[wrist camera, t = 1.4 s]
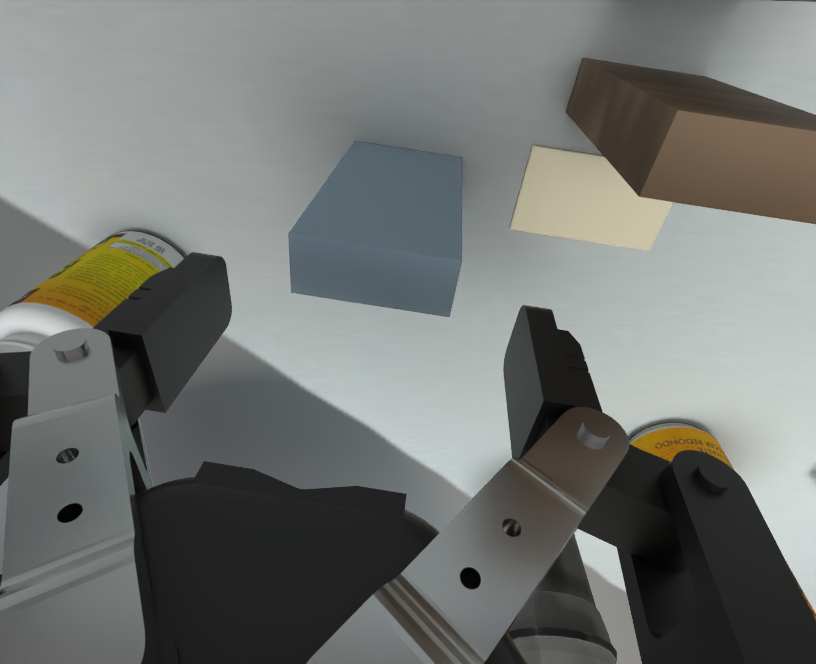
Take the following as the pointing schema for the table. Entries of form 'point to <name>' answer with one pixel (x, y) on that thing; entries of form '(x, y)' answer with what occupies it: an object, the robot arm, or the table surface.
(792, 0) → the domino
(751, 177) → the domino
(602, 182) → the plate
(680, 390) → the table surface
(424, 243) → the domino
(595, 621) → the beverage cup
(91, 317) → the supplement bottle
